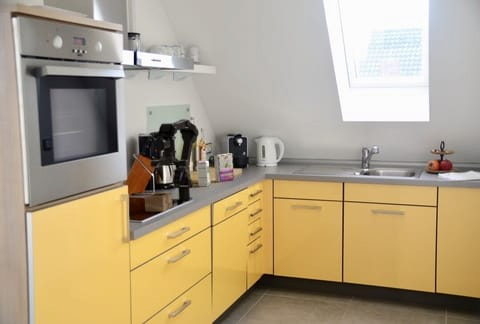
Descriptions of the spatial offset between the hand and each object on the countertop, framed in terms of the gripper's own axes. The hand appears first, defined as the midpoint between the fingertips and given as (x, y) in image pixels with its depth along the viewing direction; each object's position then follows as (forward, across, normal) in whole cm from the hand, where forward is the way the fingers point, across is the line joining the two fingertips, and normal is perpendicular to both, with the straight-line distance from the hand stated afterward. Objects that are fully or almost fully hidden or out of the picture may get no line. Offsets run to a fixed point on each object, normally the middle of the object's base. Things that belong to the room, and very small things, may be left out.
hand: (170, 180), depth 291 cm
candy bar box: (+12, +3, +77) cm, 78 cm away
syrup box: (+12, -4, +59) cm, 60 cm away
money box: (+12, -2, -10) cm, 16 cm away
